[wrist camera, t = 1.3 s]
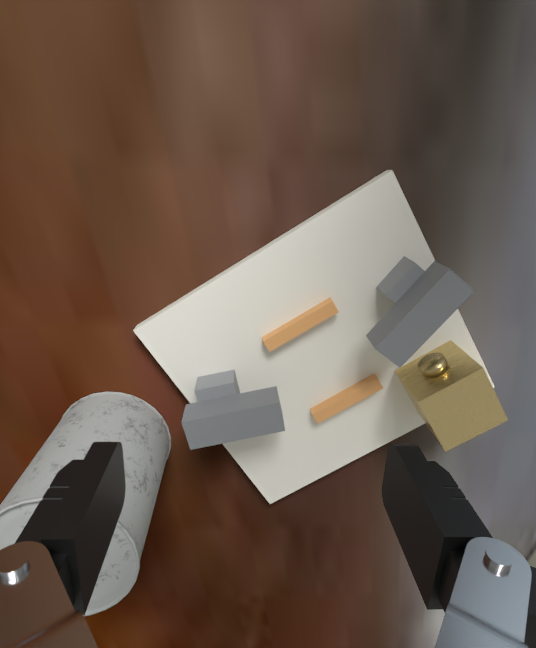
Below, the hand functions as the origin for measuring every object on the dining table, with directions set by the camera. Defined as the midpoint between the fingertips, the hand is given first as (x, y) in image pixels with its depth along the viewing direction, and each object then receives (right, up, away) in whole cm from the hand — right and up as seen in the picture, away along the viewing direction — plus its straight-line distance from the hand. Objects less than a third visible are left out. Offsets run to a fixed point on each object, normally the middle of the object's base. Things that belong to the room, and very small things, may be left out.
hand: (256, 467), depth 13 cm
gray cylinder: (-13, -6, +25) cm, 28 cm away
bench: (+5, +2, +23) cm, 23 cm away
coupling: (+14, 0, +23) cm, 27 cm away
